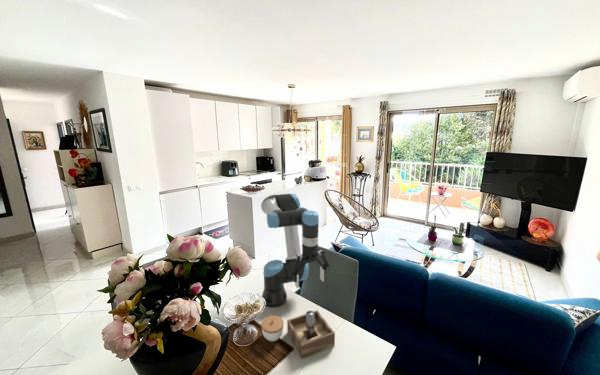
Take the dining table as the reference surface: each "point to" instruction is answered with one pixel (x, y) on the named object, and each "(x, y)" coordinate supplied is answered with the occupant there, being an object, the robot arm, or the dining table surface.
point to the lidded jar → (272, 328)
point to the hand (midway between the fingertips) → (309, 283)
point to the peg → (310, 325)
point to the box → (314, 345)
